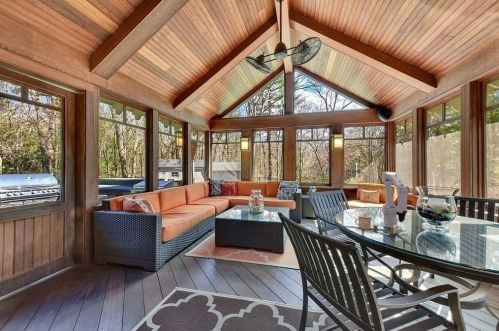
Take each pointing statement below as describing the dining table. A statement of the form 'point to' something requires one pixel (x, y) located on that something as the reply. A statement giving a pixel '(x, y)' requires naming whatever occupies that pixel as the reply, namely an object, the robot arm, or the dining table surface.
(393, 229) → the hinge post
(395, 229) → the beige flat panel
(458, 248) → the dining table surface
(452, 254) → the dining table surface
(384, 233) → the sill strip
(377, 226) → the post
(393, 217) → the robot arm
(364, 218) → the teacup with lid
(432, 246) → the dining table surface
